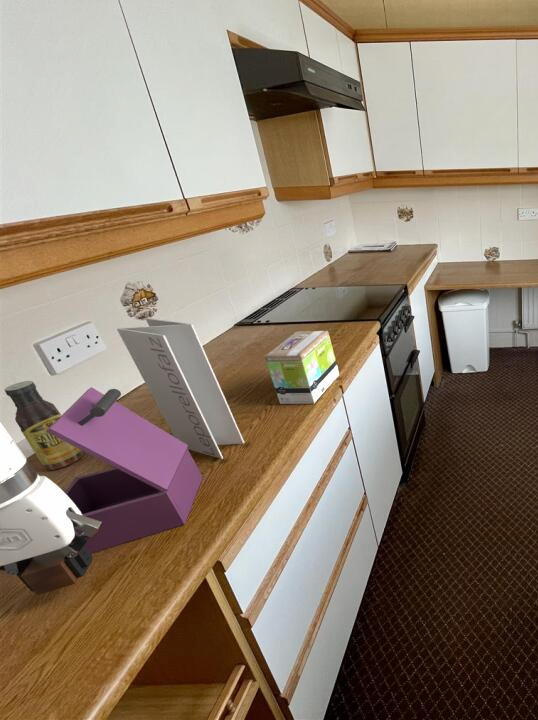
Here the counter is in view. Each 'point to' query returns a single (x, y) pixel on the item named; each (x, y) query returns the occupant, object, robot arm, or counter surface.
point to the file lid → (120, 438)
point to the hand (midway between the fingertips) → (63, 574)
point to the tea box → (302, 367)
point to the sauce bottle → (41, 426)
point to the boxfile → (133, 503)
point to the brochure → (182, 384)
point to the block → (48, 573)
